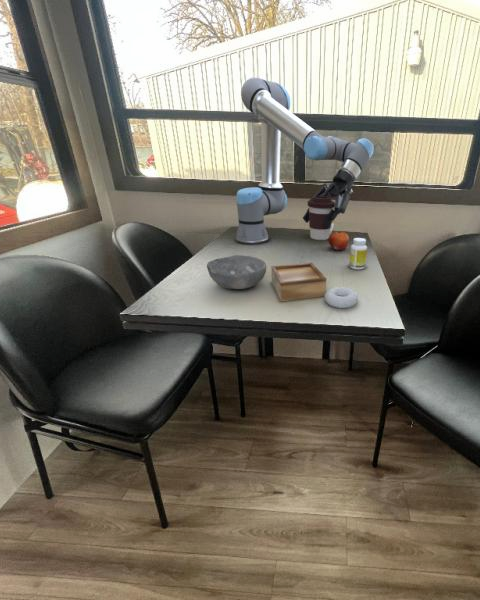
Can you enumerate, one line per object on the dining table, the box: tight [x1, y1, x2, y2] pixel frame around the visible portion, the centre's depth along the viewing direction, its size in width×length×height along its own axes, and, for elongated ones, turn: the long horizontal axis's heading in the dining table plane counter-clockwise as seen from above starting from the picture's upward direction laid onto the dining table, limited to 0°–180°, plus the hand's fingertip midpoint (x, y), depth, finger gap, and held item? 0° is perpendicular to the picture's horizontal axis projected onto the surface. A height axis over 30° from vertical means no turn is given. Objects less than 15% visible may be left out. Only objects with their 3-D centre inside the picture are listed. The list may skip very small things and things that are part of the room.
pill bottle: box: [349, 237, 368, 270], centre depth 113 cm, size 6×6×11 cm
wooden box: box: [270, 262, 327, 302], centre depth 94 cm, size 14×14×6 cm
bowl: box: [206, 254, 267, 290], centre depth 94 cm, size 18×18×8 cm
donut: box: [323, 286, 359, 309], centre depth 88 cm, size 10×4×10 cm
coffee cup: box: [307, 195, 335, 241], centre depth 110 cm, size 10×10×15 cm
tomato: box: [328, 230, 350, 251], centre depth 134 cm, size 9×9×8 cm
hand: (314, 223), depth 109 cm, fingers closed on coffee cup, 10 cm apart
